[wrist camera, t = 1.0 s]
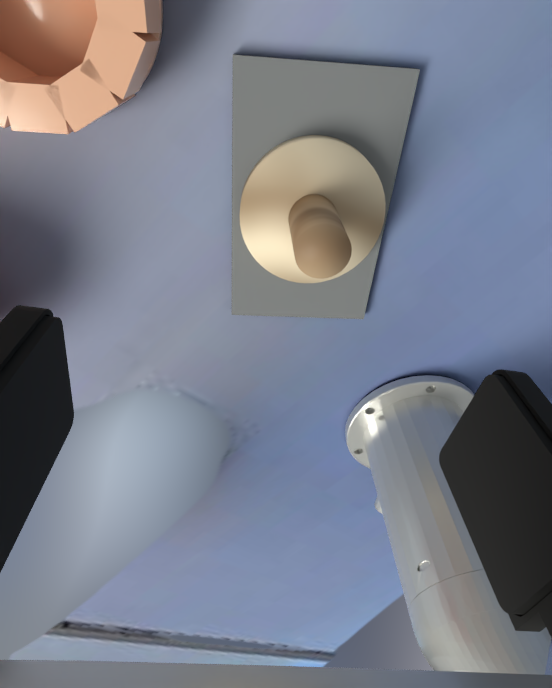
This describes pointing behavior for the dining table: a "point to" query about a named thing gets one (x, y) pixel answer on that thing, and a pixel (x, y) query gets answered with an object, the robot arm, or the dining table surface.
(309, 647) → the dining table surface
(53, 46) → the bowl
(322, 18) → the dining table surface
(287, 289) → the mat
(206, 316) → the dining table surface
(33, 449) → the robot arm
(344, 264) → the lid
